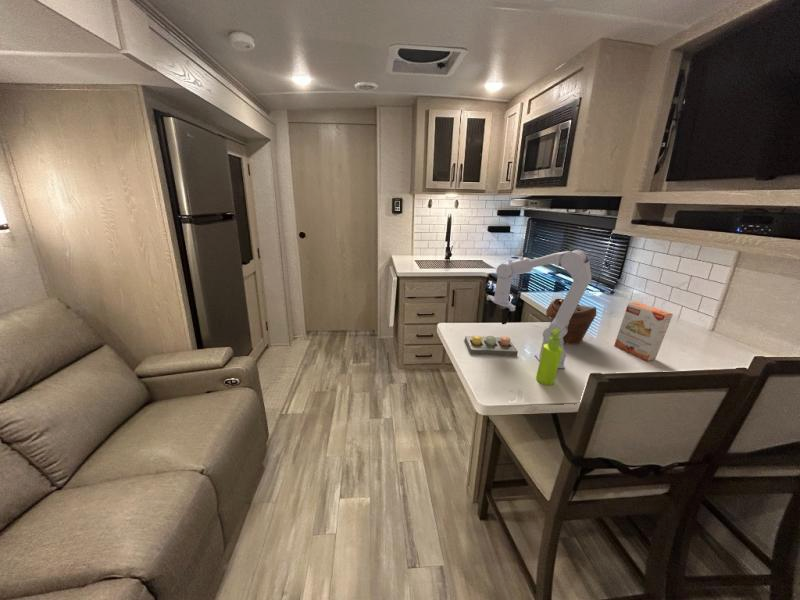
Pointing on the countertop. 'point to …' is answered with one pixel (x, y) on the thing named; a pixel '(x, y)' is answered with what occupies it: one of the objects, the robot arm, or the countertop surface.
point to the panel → (490, 347)
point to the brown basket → (574, 320)
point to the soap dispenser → (550, 359)
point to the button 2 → (505, 341)
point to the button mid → (490, 341)
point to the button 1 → (476, 340)
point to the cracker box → (642, 330)
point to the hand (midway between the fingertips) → (497, 320)
